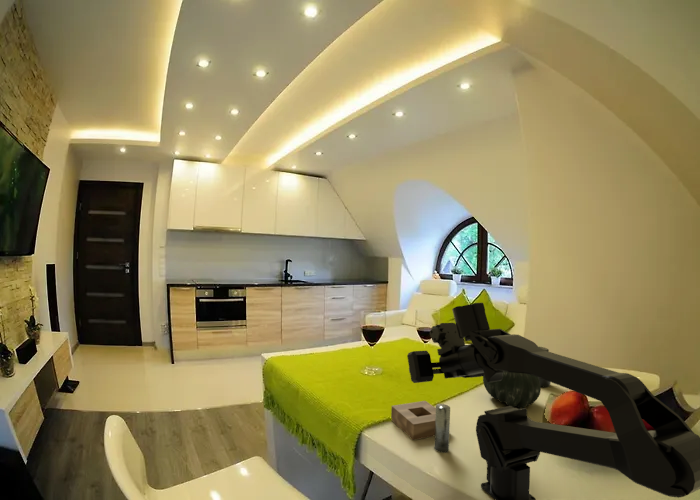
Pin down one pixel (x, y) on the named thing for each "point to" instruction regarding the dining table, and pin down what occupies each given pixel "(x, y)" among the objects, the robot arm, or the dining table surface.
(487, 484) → the robot arm
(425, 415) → the hole block
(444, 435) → the pin
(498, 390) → the squash
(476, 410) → the dining table surface
